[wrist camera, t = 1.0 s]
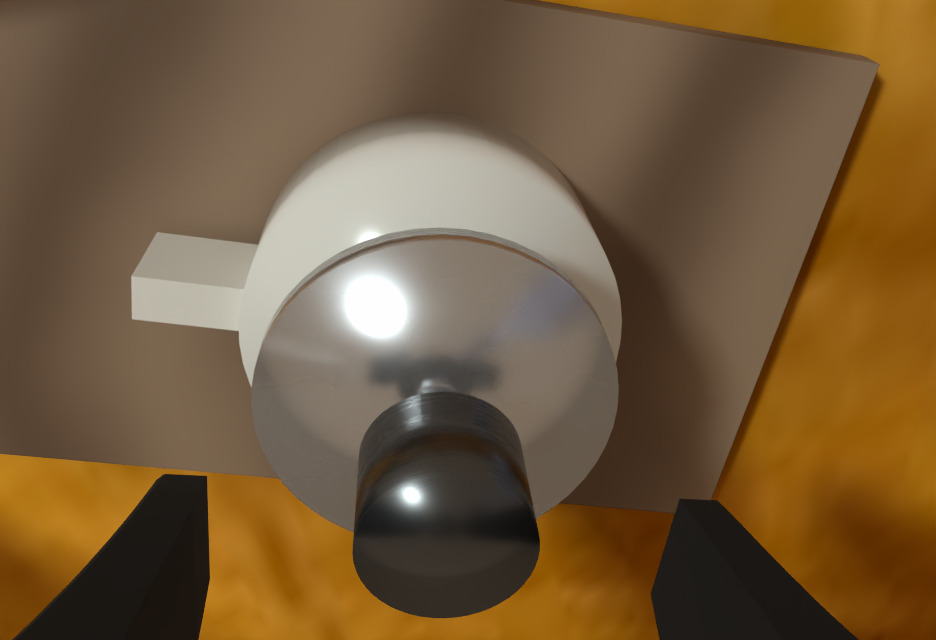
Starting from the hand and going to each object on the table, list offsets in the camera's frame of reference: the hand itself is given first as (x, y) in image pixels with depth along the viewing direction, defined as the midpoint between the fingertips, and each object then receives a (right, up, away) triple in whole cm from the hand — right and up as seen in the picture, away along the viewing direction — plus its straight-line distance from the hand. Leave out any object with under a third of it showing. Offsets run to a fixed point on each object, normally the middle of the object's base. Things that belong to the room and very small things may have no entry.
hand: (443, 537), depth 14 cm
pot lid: (0, +2, +3) cm, 4 cm away
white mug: (-2, +4, +8) cm, 9 cm away
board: (-2, +5, +8) cm, 10 cm away
